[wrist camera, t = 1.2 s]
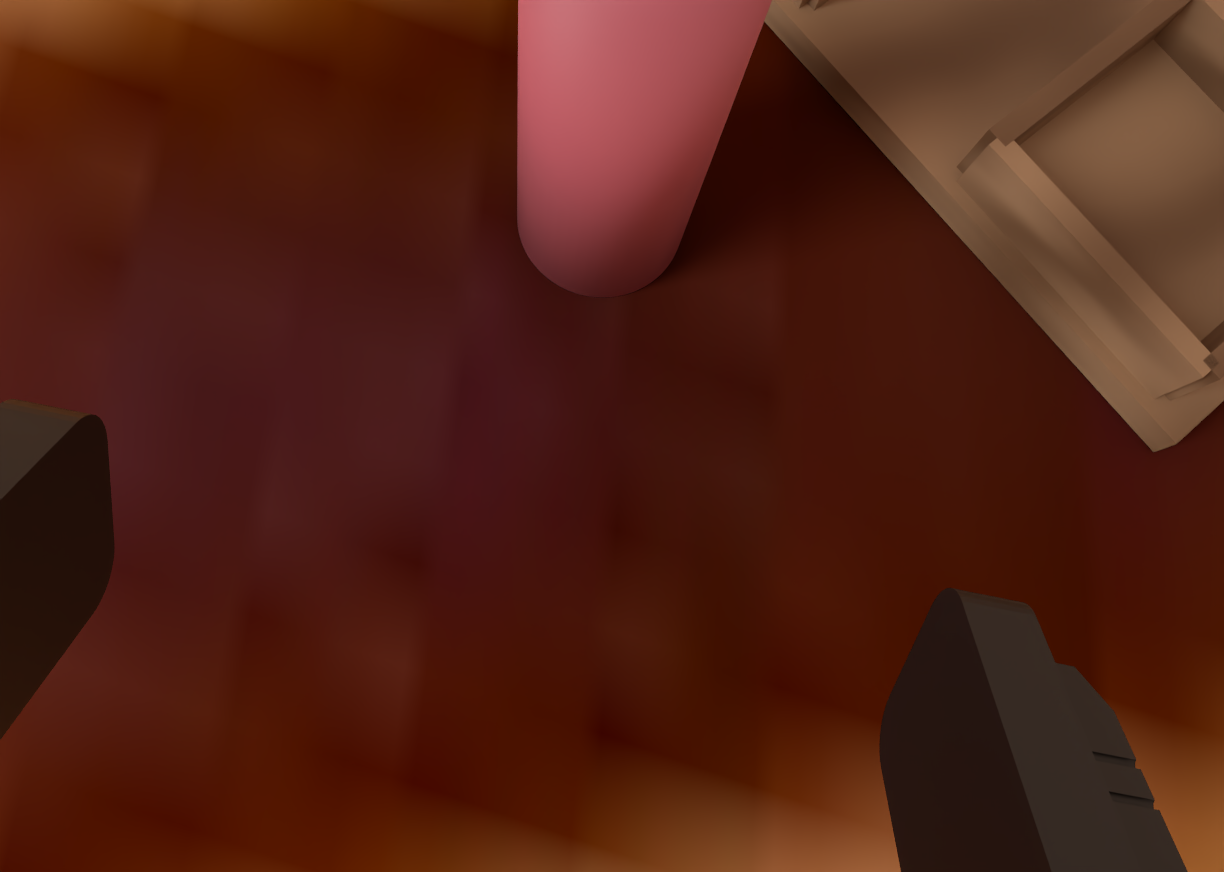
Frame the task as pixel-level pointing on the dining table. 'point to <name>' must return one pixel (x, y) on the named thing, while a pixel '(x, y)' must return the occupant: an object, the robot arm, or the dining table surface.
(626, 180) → the candle loose
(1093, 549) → the dining table surface
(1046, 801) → the robot arm
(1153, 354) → the holder
